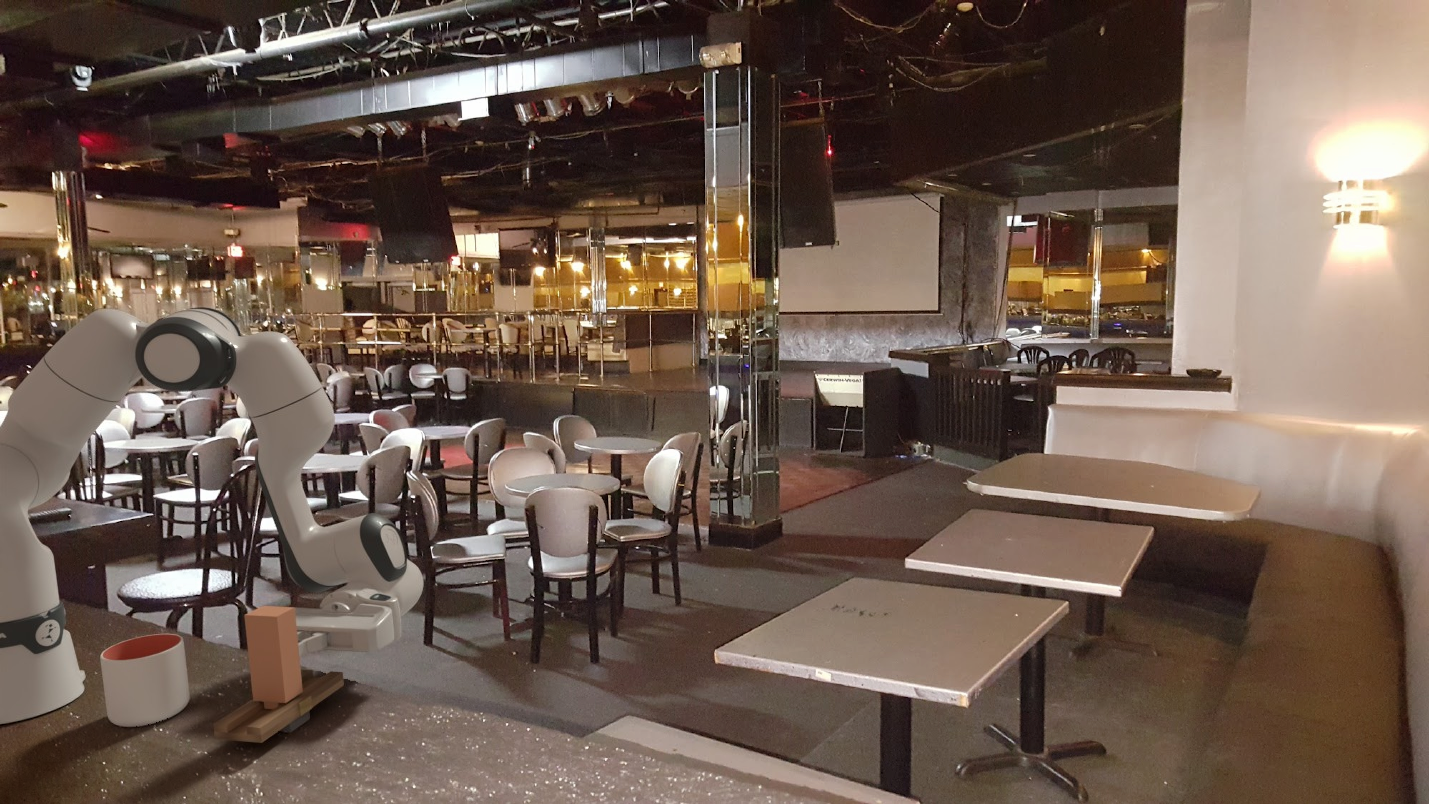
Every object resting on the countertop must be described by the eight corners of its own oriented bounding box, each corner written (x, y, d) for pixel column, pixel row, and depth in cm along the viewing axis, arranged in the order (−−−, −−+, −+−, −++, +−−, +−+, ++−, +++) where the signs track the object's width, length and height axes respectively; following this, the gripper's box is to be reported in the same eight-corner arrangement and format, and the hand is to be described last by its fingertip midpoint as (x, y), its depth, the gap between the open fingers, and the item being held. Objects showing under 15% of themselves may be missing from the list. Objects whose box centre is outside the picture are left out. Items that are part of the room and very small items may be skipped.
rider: (254, 708, 122) (244, 615, 121) (272, 697, 126) (262, 605, 124) (286, 711, 121) (276, 616, 120) (303, 699, 125) (294, 607, 123)
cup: (152, 733, 123) (143, 662, 122) (90, 728, 125) (81, 659, 124) (206, 700, 133) (199, 634, 132) (148, 696, 135) (141, 632, 134)
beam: (215, 753, 117) (212, 723, 117) (302, 695, 134) (299, 669, 133) (264, 757, 115) (261, 728, 115) (346, 698, 132) (343, 672, 131)
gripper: (288, 593, 141) (222, 626, 127) (407, 598, 136) (351, 632, 123) (292, 632, 141) (227, 669, 128) (410, 638, 137) (355, 677, 123)
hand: (288, 651), depth 125 cm, fingers closed
